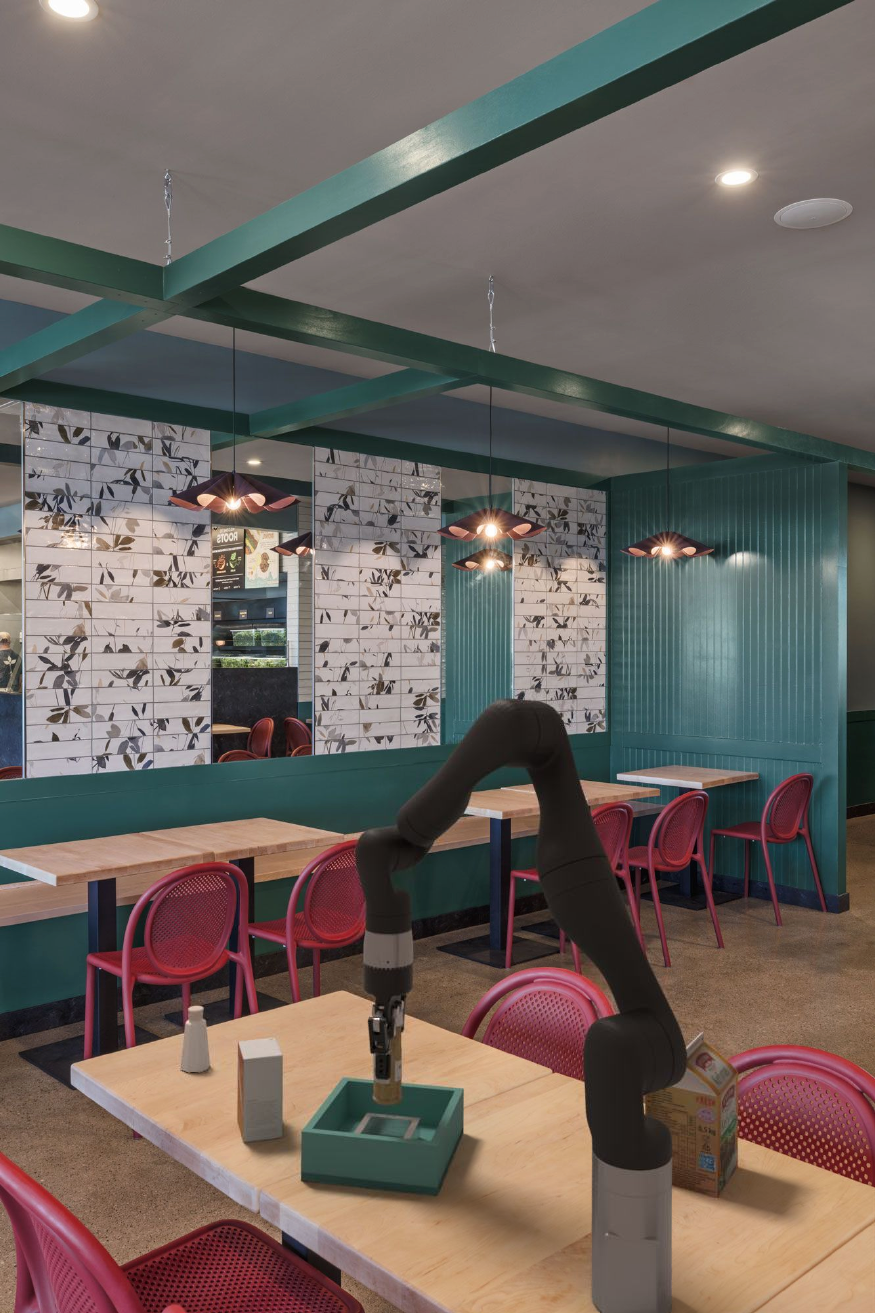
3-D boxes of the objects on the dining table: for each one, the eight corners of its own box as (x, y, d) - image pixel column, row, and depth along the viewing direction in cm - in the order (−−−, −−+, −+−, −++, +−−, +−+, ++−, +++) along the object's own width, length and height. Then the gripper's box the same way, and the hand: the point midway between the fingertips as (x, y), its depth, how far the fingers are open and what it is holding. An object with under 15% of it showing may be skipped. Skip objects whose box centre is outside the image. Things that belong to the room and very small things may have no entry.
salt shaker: (177, 1064, 189) (178, 1005, 189) (206, 1060, 191) (207, 1001, 191) (183, 1075, 184) (183, 1014, 184) (213, 1070, 186) (213, 1010, 186)
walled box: (437, 1196, 142) (437, 1146, 142) (300, 1180, 146) (301, 1131, 146) (463, 1133, 161) (463, 1088, 162) (342, 1120, 166) (343, 1077, 166)
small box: (236, 1121, 165) (237, 1040, 165) (275, 1116, 167) (276, 1036, 167) (242, 1143, 157) (242, 1058, 158) (283, 1138, 159) (283, 1054, 160)
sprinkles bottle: (407, 1102, 153) (408, 1012, 153) (381, 1109, 151) (382, 1017, 151) (392, 1091, 157) (392, 1003, 157) (366, 1098, 155) (367, 1009, 155)
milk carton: (717, 1198, 142) (717, 1061, 142) (644, 1178, 147) (645, 1046, 148) (737, 1167, 151) (738, 1038, 151) (668, 1149, 156) (669, 1025, 157)
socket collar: (407, 1164, 149) (407, 1143, 149) (350, 1157, 150) (350, 1137, 151) (420, 1137, 157) (420, 1118, 157) (366, 1132, 159) (366, 1112, 159)
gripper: (400, 974, 146) (399, 1093, 146) (423, 947, 160) (422, 1056, 160) (350, 970, 148) (349, 1088, 148) (377, 944, 162) (376, 1052, 162)
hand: (387, 1071), depth 154 cm, fingers closed on sprinkles bottle, 4 cm apart
